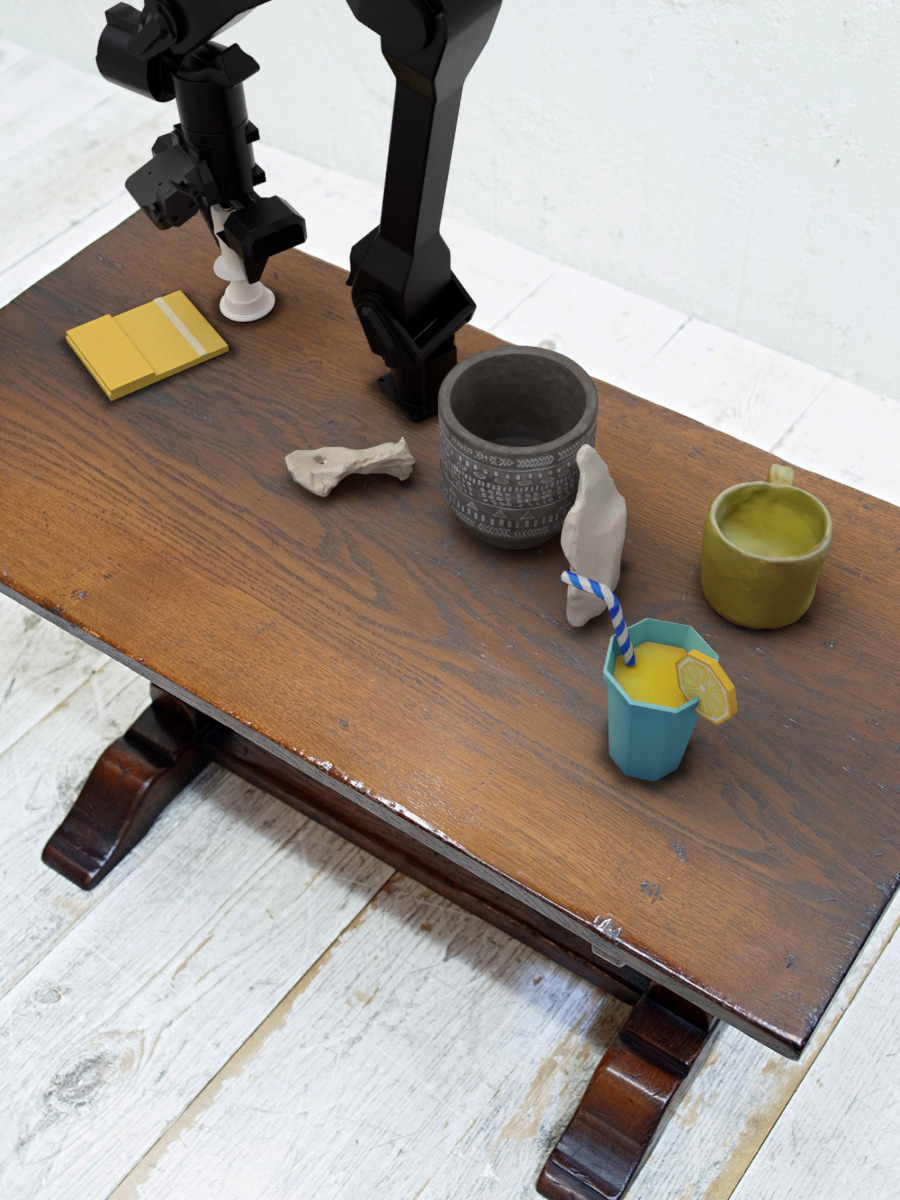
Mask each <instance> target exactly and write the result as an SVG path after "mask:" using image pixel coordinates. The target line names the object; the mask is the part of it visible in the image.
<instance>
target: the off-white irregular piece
mask: <svg viewBox="0 0 900 1200" xmlns="http://www.w3.org/2000/svg"><path fill="white" fill-rule="evenodd" d="M284 460H285V463H286V466H287V470H288V471H289V472H290V475H291V477H292V479H293V481H294V482H296V484H299V485H300V486H302V487H303V488H304V489H305V490H307V491H308V492H310V493H312V494H315V495H317V496H319V497H323V498H324V497H327V496H329V494H330V493H331V491H332V490H333V488H335V487H336V486H338V484H340V482H341V481H342V480H343V479H344V478H345V477H347V476H349V475H351V474H361V475H369V474H387V475H390V476H393V477H395V478H398V479H399V480H400V481H405V480H407V479H408V478H409V476H410V474H411V473H412V472H413V471H414V470H413V465H414V464H416V460H415V458H414V456H413V455H412V453H411V452H410V449H409V447H408V444H407V441H406V439H405V437H404V436H401V438H400V440H399V441H398V442H396V443H395V442H393V441H389V442H385V443H380V444H379V445H375V446H372V447H368V448H364V449H352V448H348V447H345V446H323V447H320V448H317V449H303V450H302V449H295V450H293V451H292V452H290V453H288V454H287V455H285V457H284Z"/></svg>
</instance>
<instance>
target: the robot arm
mask: <svg viewBox="0 0 900 1200" xmlns="http://www.w3.org/2000/svg"><path fill="white" fill-rule="evenodd" d="M271 1H273V0H143V7H142V9H141V10H140V9H138V8H135V6H133V5H131V4H129V3H126V2H124V1H120V2H118V3H116V4H114V5H113V6H111V7H109V8H108V9H106V10H105V11H104V17H105V20H106V25H105V26H104V27H103V28H102V30H101V32H100V36H99V38H98V40H97V41H98V42H97V47H96V55H95V64H96V67H97V70H98V72H99V74H100V75H101V77H102V78H103V79H105V80H106V82H109V83H111V84H113V85H116V86H119V87H121V88H123V89H126V90H128V91H130V92H132V93H135V94H137V95H140V96H143V97H144V98H148V99H149V100H153V101H155V102H158V103H164V104H165V103H169V102H171V101H173V100H175V102H176V103H175V104H176V107H177V114H178V117H179V122H178V123H175V124H173V125H172V128H173V130H171V131H170V132H168V133H164V134H161V135H159V136H157V138H156V140H155V141H154V143H153V144H152V146H151V148H150V151H151V155H152V158H151V159H150V160H148V161H147V162H146V163H144V164H143V165H142V166H141V167H139V168H138V169H136V170H135V171H134V172H133V173H132V174H130V175H129V176H128V177H127V178H126V179H125V182H124V188H125V189H126V191H127V192H128V193H129V195H130V196H131V198H132V199H133V201H134V202H135V203H136V204H137V206H138V207H139V208H140V210H141V212H143V214H144V215H145V216H146V217H147V218H148V219H149V220H150V221H151V222H152V224H153V225H154V226H155V227H156V229H157V230H160V231H166V230H170V229H171V228H173V227H174V228H180V227H182V226H183V225H184V224H186V223H187V222H188V221H189V220H191V219H192V218H193V217H195V216H196V215H197V214H198V213H199V212H200V214H201V215H202V218H203V220H204V222H205V224H206V226H207V227H208V230H209V231H210V234H211V235H212V238H213V240H214V243H215V244H216V246H217V248H218V250H219V251H220V253H221V254H220V255H222V252H221V248H220V244H219V240H218V238H217V237H216V236H215V234H214V223H213V219H212V214H211V206H213V205H216V204H217V205H218V206H219V207H220V208H221V209H222V210H223V211H224V212H226V213H227V212H230V211H233V210H234V209H235V210H236V211H233V212H231V213H230V215H229V216H228V218H227V220H226V221H225V223H224V225H223V227H224V230H223V231H220V232H218V233H216V235H217V236H218V237H219V238H220V239H221V240H222V241H223V242H224V243H225V244H226V245H227V247H228V248H230V249H231V250H233V251H234V252H235V253H236V254H237V256H238V259H239V262H240V264H241V267H242V270H243V273H244V275H245V277H246V280H247V282H248V283H249V284H250V285H251V284H254V283H256V282H258V281H260V280H261V278H262V276H263V273H264V271H265V268H266V266H267V264H268V261H269V258H270V257H273V256H276V255H278V254H280V253H283V252H285V251H289V250H290V249H292V248H296V247H298V246H300V245H302V244H305V243H306V241H307V239H308V232H307V222H306V218H305V217H304V216H303V215H302V214H301V213H300V212H299V211H297V210H296V209H295V207H293V206H292V205H291V203H290V202H289V201H287V200H286V199H284V198H282V197H281V196H278V195H277V194H275V195H272V196H263V197H262V196H261V195H259V193H258V192H256V191H255V188H254V187H257V186H259V185H261V184H265V183H266V182H267V177H266V171H265V170H264V169H263V167H261V166H260V165H259V164H258V163H257V162H256V159H255V152H254V144H253V143H255V142H258V141H260V140H261V135H260V128H259V127H258V126H256V125H255V124H254V123H253V122H252V121H251V120H250V119H249V113H248V107H247V99H246V95H245V88H244V82H245V81H247V80H248V79H249V78H251V77H252V76H254V75H256V74H257V73H259V72H260V70H261V66H260V64H259V62H258V61H257V60H256V59H255V58H254V57H253V56H252V55H250V54H249V53H247V52H246V51H244V49H242V48H241V46H240V44H239V43H238V42H234V43H232V44H230V45H229V46H228V45H225V44H221V43H219V42H217V41H214V40H213V39H214V38H216V37H218V36H220V35H221V34H222V33H224V32H226V31H227V30H229V29H230V28H232V27H234V26H235V25H237V24H238V23H240V22H241V21H242V20H244V19H245V18H246V17H247V16H248V15H249V14H250V13H252V12H253V11H254V10H256V9H257V7H260V6H262V5H264V4H267V3H269V2H271ZM345 2H346V4H347V6H348V7H349V9H350V11H351V13H352V15H353V16H354V18H355V19H356V20H357V21H358V22H359V23H361V24H362V25H363V26H365V27H366V28H368V29H369V30H371V31H372V32H374V33H375V34H376V35H378V36H379V39H380V40H379V41H380V43H379V44H380V52H381V54H382V56H383V58H384V60H385V61H386V63H387V65H388V67H389V69H390V71H391V72H392V74H393V76H394V77H395V88H394V97H393V105H392V112H391V121H390V122H391V123H390V130H389V138H388V139H389V141H388V148H387V157H386V164H385V165H386V166H385V173H384V175H385V176H384V183H383V193H382V201H381V210H380V219H379V224H378V225H376V226H375V227H374V228H372V230H370V231H369V232H368V233H366V235H364V236H363V237H362V238H361V239H359V240H358V241H357V242H355V243H354V244H353V245H351V248H350V252H349V257H348V258H349V275H348V278H347V279H346V281H345V285H346V286H347V287H351V289H350V295H351V296H350V297H351V302H352V307H353V308H354V310H355V312H356V315H357V317H358V320H359V323H360V326H361V329H362V331H363V333H364V335H365V338H366V341H367V343H368V346H369V348H370V351H371V353H372V354H373V355H375V356H378V357H380V358H381V359H382V360H383V361H384V366H385V367H387V368H389V369H390V372H388V373H386V374H384V375H381V376H379V377H378V378H377V379H376V386H377V387H378V388H379V389H380V390H381V391H382V392H383V393H384V394H385V396H386V397H388V398H389V399H390V401H391V402H392V403H393V404H394V405H395V406H396V407H397V408H398V409H399V410H400V411H401V412H402V413H403V414H404V415H405V416H406V417H407V419H409V421H410V422H412V423H418V422H420V421H422V420H425V419H426V418H429V417H431V416H433V415H435V414H437V413H439V412H438V395H439V390H440V387H441V384H442V382H443V380H444V379H445V377H446V375H447V374H448V373H449V372H450V371H451V370H452V369H453V368H454V367H455V366H456V365H457V364H458V347H457V345H456V333H457V332H458V331H459V330H460V329H461V328H462V327H464V326H465V325H466V324H468V323H470V322H471V321H472V319H473V318H474V314H475V313H476V310H477V303H476V302H475V301H474V299H473V298H472V296H471V295H470V293H469V292H468V291H467V289H466V288H465V287H464V285H463V283H462V282H461V281H460V280H459V278H458V277H457V275H456V273H454V271H453V270H452V253H451V249H450V247H449V246H448V244H447V242H446V241H445V239H444V238H443V236H442V234H441V233H440V232H441V222H442V216H443V210H444V205H445V199H446V192H447V187H448V180H449V174H450V168H451V163H452V157H453V150H454V146H455V138H456V132H457V125H458V121H459V116H460V115H459V114H460V109H461V103H462V102H461V101H462V96H463V90H464V84H465V82H466V79H467V77H468V76H469V74H470V72H471V71H472V69H473V67H474V65H475V64H476V63H477V61H478V59H479V58H480V56H481V53H483V50H484V49H485V47H486V46H487V44H488V42H489V40H490V38H491V35H492V32H493V30H494V27H495V24H496V21H497V19H498V16H499V13H500V10H501V9H502V5H503V0H345ZM260 282H261V281H260Z"/></svg>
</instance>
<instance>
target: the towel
mask: <svg viewBox="0 0 900 1200" xmlns="http://www.w3.org/2000/svg"><path fill="white" fill-rule="evenodd" d="M65 332H66V335H65V339H66V342H67V343H68V346H70V348H71V349H72V350H73V352H74V353H75V354H76V356H77V357H78V358H79V360H80V361H81V362H82V364H83V365H84V366H85V368H86V369H87V370H88V372H89V373H90V375H91V376H92V377H93V379H94V380H95V381H96V383H97V384H98V386H99V387H100V388H101V389H102V390H103V392H104V393H105V395H106V396H107V397H108V399H109V401H110V402H112V401H115V400H118V399H120V398H122V397H125V396H127V395H129V394H131V393H134V392H136V391H138V390H141V389H143V388H146V387H148V386H150V385H152V384H155V383H157V382H160V381H162V380H164V379H167V378H170V377H171V376H173V375H176V374H179V373H180V372H183V371H186V370H188V369H190V368H192V367H194V366H197V365H199V364H201V363H204V362H206V361H209V360H211V359H214V358H215V357H218V356H220V355H223V354H225V353H228V352H230V349H229V344H228V343H227V342H226V341H225V340H224V339H223V338H222V337H221V336H220V334H219V333H218V332H217V331H216V330H215V328H214V327H213V326H212V325H211V324H210V323H209V321H208V320H207V319H206V318H205V317H204V316H203V314H202V313H201V312H200V311H199V310H198V308H196V306H195V305H194V304H193V303H192V302H191V301H190V299H189V298H188V297H187V296H186V295H185V293H184V292H183V291H182V290H181V289H180V290H177V291H174V292H172V293H169V294H167V295H164V296H158V297H156V298H154V299H152V301H149V302H147V303H145V304H144V303H143V304H142V305H140V306H137V307H134V308H131V309H129V310H127V311H125V312H122V313H120V314H117V315H115V316H112V315H110V313H107V314H105V315H102V316H100V317H98V318H95V319H93V320H91V321H90V320H89V321H88V322H86V323H83V324H80V325H78V326H76V327H73V328H71V329H68V330H66V331H65Z"/></svg>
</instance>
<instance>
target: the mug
mask: <svg viewBox="0 0 900 1200" xmlns="http://www.w3.org/2000/svg"><path fill="white" fill-rule="evenodd" d="M794 484H795V470H794V469H793V468H792V467H790V466H786V465H780V464H777V463H772V464H771V466H770V468H769V470H768V473H767V476H766V481H763V480H755V481H747V482H742V483H736V484H733V485H731V486H729V487H727V488H725V489H724V490H722V491H721V492H719V493H718V495H717V496H716V497H715V498H714V499H713V500H712V502H711V503H710V505H709V508H708V510H707V512H706V515H705V519H704V522H703V526H702V528H703V529H702V536H701V538H702V539H701V562H700V564H701V565H700V585H701V590H702V593H703V595H704V597H705V600H706V602H707V603H708V604H709V606H710V607H711V608H712V609H713V610H714V611H715V612H716V613H717V614H718V615H719V616H721V618H723V619H725V620H726V621H728V622H729V623H731V624H733V625H736V626H739V627H744V628H747V629H753V630H760V629H769V630H770V629H771V630H773V629H779V628H782V627H785V626H789V625H792V624H793V623H796V622H797V621H799V620H800V619H801V618H802V616H804V614H805V613H806V612H807V610H808V609H809V607H810V606H811V604H812V602H813V599H814V596H815V593H816V587H817V584H818V580H819V578H820V576H821V574H822V573H821V572H822V571H823V567H824V565H825V562H826V560H827V558H828V556H829V552H830V549H831V546H832V544H833V538H834V530H833V529H834V523H833V520H832V517H831V514H830V512H829V510H828V508H827V507H826V505H824V504H823V503H822V501H821V500H820V499H819V498H818V497H816V496H815V495H813V494H812V493H810V492H808V491H806V490H805V489H803V488H799V487H797V486H794Z"/></svg>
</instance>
